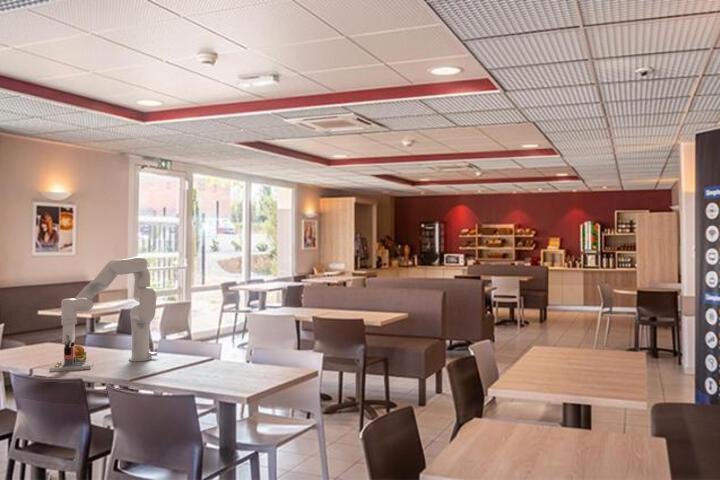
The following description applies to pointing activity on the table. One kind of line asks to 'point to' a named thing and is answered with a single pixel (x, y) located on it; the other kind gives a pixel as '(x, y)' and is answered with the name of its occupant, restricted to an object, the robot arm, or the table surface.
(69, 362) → the breaker
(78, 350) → the cheeseburger
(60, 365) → the panel
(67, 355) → the red rectangular block
